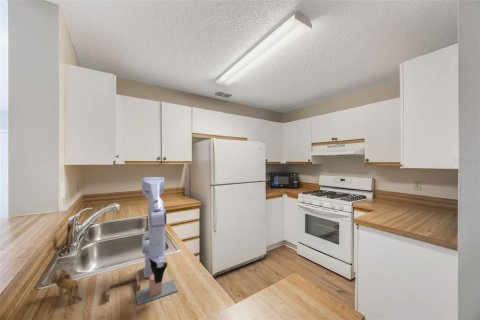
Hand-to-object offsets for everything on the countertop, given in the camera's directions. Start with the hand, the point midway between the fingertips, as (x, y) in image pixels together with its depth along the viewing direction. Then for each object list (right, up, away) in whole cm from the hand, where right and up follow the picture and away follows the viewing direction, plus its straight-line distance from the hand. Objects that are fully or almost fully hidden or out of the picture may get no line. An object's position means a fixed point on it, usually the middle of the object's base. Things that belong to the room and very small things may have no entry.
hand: (156, 277), depth 75 cm
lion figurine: (-33, -6, -3) cm, 33 cm away
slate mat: (0, -6, 0) cm, 6 cm away
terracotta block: (0, -5, 0) cm, 5 cm away
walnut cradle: (-14, -6, +1) cm, 15 cm away
